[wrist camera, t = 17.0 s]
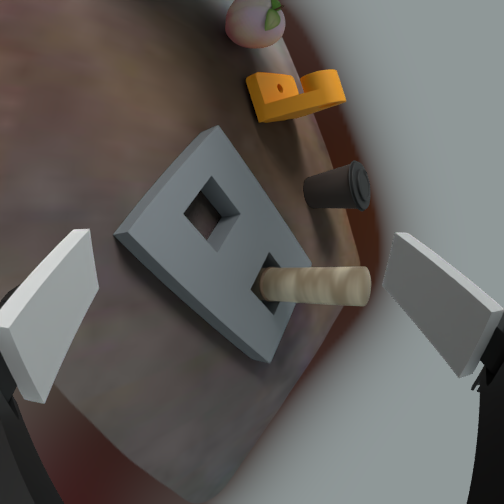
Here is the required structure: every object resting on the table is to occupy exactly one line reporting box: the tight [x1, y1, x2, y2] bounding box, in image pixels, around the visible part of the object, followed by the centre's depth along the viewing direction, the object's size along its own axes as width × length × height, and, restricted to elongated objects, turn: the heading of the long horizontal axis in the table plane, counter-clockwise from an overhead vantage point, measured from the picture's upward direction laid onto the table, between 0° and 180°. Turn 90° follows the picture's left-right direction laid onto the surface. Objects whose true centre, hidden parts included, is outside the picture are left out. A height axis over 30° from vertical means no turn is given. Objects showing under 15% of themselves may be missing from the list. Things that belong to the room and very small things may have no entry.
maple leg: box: [250, 267, 371, 306], centre depth 36 cm, size 4×4×15 cm
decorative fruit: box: [225, 0, 285, 48], centre depth 36 cm, size 9×8×10 cm
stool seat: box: [113, 125, 312, 363], centre depth 36 cm, size 24×16×3 cm, turn 51°
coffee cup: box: [303, 161, 370, 211], centre depth 50 cm, size 8×8×10 cm
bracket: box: [246, 69, 346, 123], centre depth 41 cm, size 11×7×12 cm, turn 115°
